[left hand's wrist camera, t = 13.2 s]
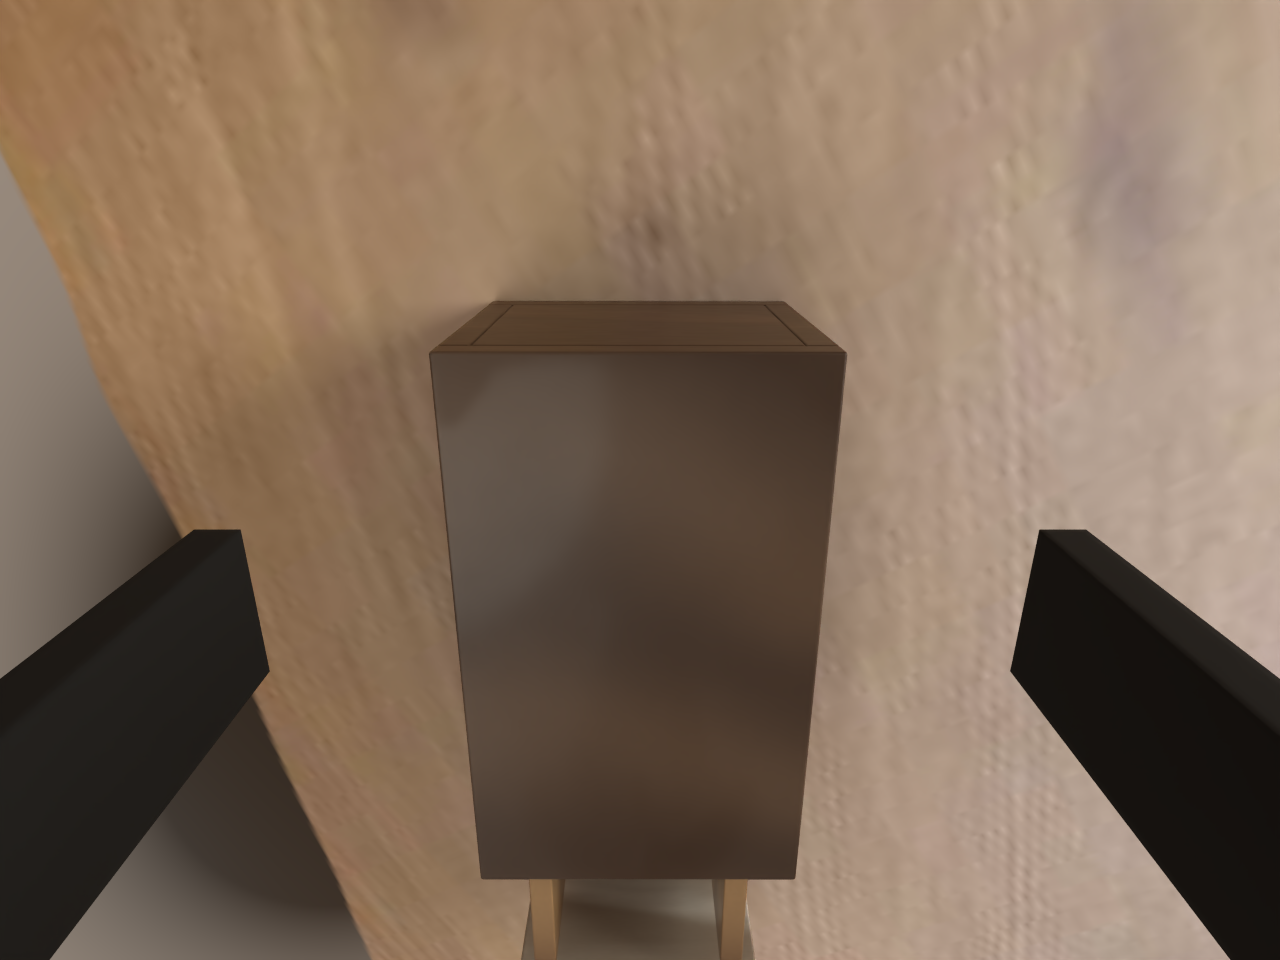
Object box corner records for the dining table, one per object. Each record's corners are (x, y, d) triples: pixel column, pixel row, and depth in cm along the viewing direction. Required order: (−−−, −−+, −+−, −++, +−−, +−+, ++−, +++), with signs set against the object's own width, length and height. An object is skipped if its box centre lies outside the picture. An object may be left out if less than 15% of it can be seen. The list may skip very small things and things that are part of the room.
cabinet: (757, 709, 33) (795, 880, 25) (519, 708, 33) (480, 880, 25) (785, 301, 27) (848, 352, 18) (492, 300, 27) (427, 351, 18)
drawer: (732, 943, 37) (751, 1104, 30) (544, 943, 37) (524, 1104, 30) (756, 546, 29) (790, 647, 23) (520, 545, 29) (486, 647, 23)
